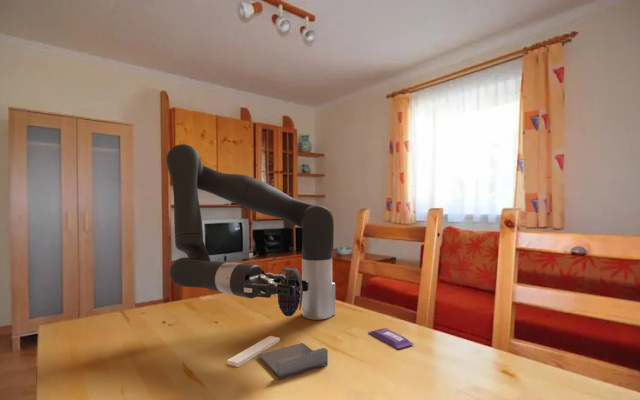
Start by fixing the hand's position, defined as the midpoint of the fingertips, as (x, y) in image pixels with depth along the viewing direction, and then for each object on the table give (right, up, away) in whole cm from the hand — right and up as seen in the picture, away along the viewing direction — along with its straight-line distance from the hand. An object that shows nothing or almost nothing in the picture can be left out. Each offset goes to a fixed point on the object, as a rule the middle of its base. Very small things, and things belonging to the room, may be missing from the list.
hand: (301, 288), depth 71 cm
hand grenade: (-2, -6, +1) cm, 7 cm away
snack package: (+21, -17, +12) cm, 30 cm away
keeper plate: (-2, -16, +1) cm, 16 cm away
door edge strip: (-11, -16, +6) cm, 20 cm away
